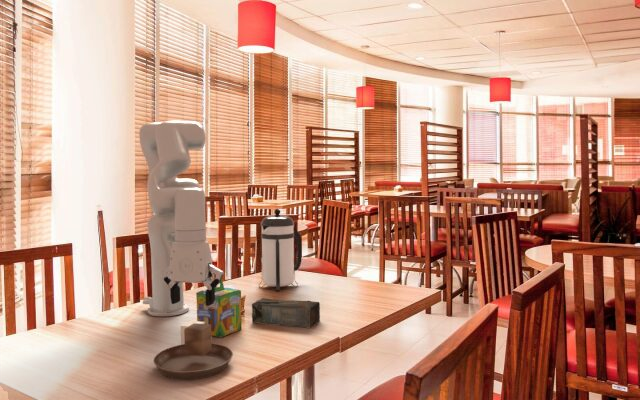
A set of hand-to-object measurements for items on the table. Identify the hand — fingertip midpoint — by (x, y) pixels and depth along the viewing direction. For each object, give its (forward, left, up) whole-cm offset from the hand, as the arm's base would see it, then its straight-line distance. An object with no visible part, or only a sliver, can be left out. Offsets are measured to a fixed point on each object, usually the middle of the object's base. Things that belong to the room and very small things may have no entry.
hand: (192, 303), depth 131 cm
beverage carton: (+16, +26, -12) cm, 33 cm away
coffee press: (-1, +68, -12) cm, 69 cm away
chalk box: (+1, +13, -12) cm, 18 cm away
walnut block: (+7, -9, -9) cm, 14 cm away
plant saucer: (+7, -12, -12) cm, 18 cm away
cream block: (0, 0, -11) cm, 11 cm away
